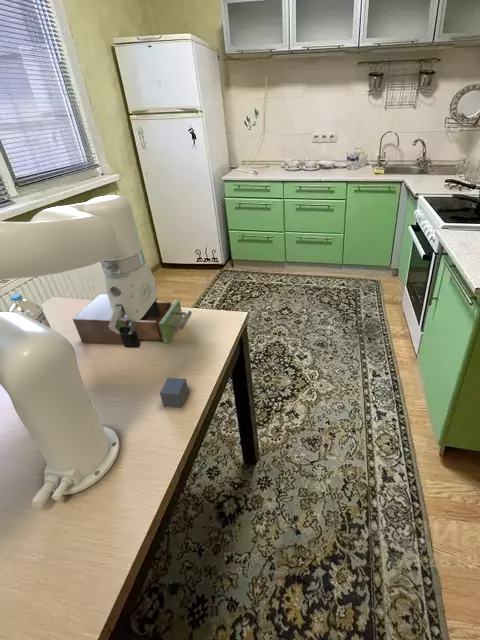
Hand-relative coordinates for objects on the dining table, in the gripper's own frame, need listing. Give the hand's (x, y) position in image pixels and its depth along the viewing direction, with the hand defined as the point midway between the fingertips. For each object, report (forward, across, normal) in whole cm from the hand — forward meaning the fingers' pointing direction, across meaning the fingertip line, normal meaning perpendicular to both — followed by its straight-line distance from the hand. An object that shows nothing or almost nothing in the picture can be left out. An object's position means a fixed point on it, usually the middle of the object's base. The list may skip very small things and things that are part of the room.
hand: (143, 330), depth 70 cm
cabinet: (+18, +21, +22) cm, 35 cm away
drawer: (+17, +21, +9) cm, 28 cm away
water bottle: (+18, +2, +28) cm, 34 cm away
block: (+18, -3, -5) cm, 19 cm away
